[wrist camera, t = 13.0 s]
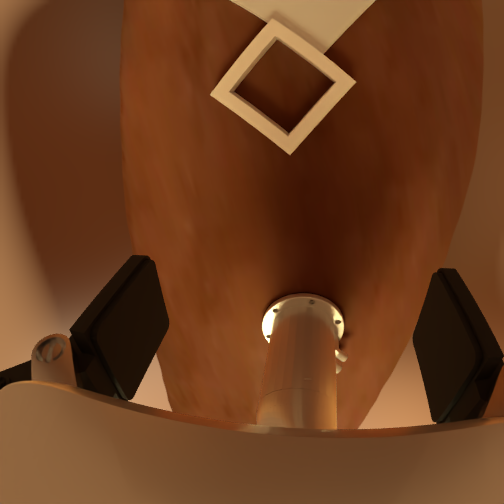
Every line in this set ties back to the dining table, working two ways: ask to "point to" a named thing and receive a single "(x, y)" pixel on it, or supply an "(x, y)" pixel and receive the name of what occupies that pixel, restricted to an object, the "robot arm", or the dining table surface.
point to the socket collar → (258, 118)
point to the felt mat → (310, 17)
